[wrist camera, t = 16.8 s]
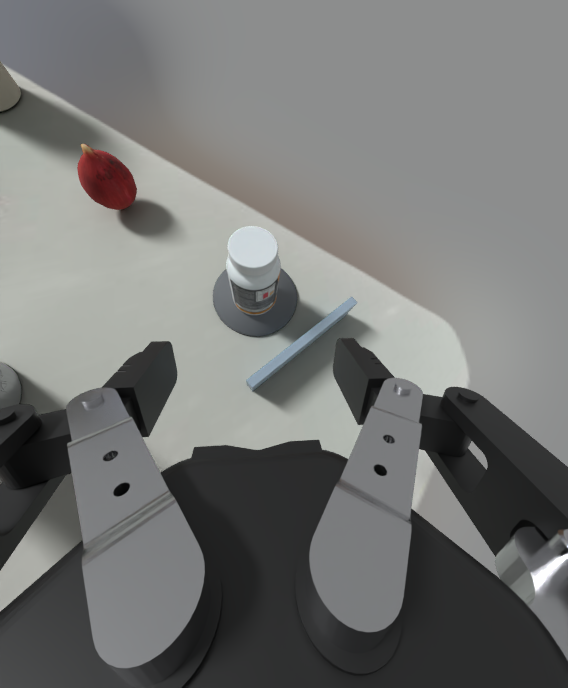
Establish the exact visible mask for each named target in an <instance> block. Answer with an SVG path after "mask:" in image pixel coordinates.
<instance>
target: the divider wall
mask: <svg viewBox="0 0 568 688" xmlns="http://www.w3.org/2000/svg"><path fill="white" fill-rule="evenodd" d="M356 304H357V301H356V300H355V299H354V298H353V297H351V298H349V299H348V300H347V301H345V302H344V303H343V304H342V305H340V306H339V307H338V308H337V309H335V310H334V311H333V312H332V313H330V314H329V315H328V316H327V317H325V318H324V319H323V320H322V321H320V322H319V323H318V324H316V325H315V326H314V327H313V328H311V329H310V330H309V331H308V332H306V333H305V334H304V335H303V336H301V337H300V338H299V339H298V340H296V341H295V342H294V343H292V344H291V345H290V346H289V347H287V348H286V349H285V350H284V351H282V352H281V353H280V354H279V355H277V356H276V357H275V358H274V359H272V360H271V361H270V362H268V363H267V364H266V365H265V366H263V367H262V368H261V369H260V370H258V371H257V372H256V373H255V374H253V375H252V376H251V377H250V378H248V379H247V380H246V382H247V385H248V386H249V388H250V389H251V390H252V391H254V390H255V389H256V388H257V387H259V386H260V385H261V384H262V383H264V382H265V381H266V380H267V379H268V378H270V377H271V376H272V375H273V374H275V373H276V372H277V371H278V370H279V369H281V368H282V367H283V366H284V365H286V364H287V363H288V362H289V361H291V360H292V359H293V358H294V357H295V356H297V355H298V354H299V353H300V352H302V351H303V350H304V349H305V348H306V347H308V346H309V345H310V344H311V343H313V342H314V341H315V340H316V339H318V338H319V337H320V336H321V335H322V334H324V333H325V332H326V331H327V330H329V329H330V328H331V327H332V326H333V325H335V324H336V323H337V322H338V321H340V320H341V319H342V318H343V317H345V316H346V315H347V314H348V312H349V311H350V310H351V309H352V308H353V307H354V306H355V305H356Z"/></svg>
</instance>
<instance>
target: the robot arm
mask: <svg viewBox="0 0 568 688" xmlns="http://www.w3.org/2000/svg"><path fill="white" fill-rule="evenodd" d="M333 373H334V377H335V379H336V381H337V383H338V385H339V387H340V389H341V391H342V393H343V395H344V397H345V399H346V401H347V403H348V405H349V407H350V410H351V412H352V414H353V416H354V418H355V420H356V422H357V424H358V425H363V427H362V429H361V432H360V434H359V436H358V439H357V441H356V443H355V446H354V448H353V450H352V453H351V455H350V457H349V460H348V459H347V458H345V457H343V456H341V455H339V454H336V453H333V452H330V451H326V450H322V448H321V445H320V441H319V440H307V441H290V442H286V443H283V444H279V445H276V446H272V447H269V448H265V449H262V450H252V449H246V448H240V447H234V446H227V445H223V446H206V447H194V450H193V454H192V457H191V458H190V459H186V460H184V461H181V462H179V463H177V464H175V465H173V466H171V467H169V468H167V469H166V470H164V471H162V472H161V473H160V471H159V470H158V468H157V466H156V464H155V462H154V460H153V458H152V456H151V454H150V452H149V450H148V448H147V446H146V444H145V442H144V440H143V438H142V437H149V435H150V433H151V431H152V429H153V427H154V425H155V423H156V421H157V419H158V417H159V415H160V413H161V411H162V409H163V407H164V406H165V404H166V402H167V400H168V398H169V396H170V394H171V392H172V390H173V388H174V386H175V384H176V381H177V368H176V363H175V358H174V353H173V348H172V344H171V343H170V342H169V341H162V342H151V343H150V344H149V345H148V346H147V347H146V348H145V350H144V351H143V352H139V353H137V354H135V355H134V356H132V357H130V358H129V359H128V360H127V361H126V362H125V363H124V364H123V366H121V367H120V368H119V370H118V372H116V373H115V374H114V375H113V376H112V377H111V378H110V379H109V380H108V381H107V382H106V383H105V385H104V386H103V387H102V388H97V389H93V390H89V391H87V392H84V393H82V394H80V395H78V396H76V397H75V398H74V399H72V400H71V401H70V402H69V403H68V405H67V407H66V409H64V410H60V411H55V412H51V413H46V414H42V415H38V414H37V412H36V410H35V408H34V407H33V406H32V405H29V404H19V403H20V399H21V384H20V381H19V378H18V376H17V374H16V373H15V372H14V371H13V369H12V368H10V367H9V366H7V365H6V364H4V363H1V362H0V479H1V480H2V481H3V482H2V484H1V485H0V570H1V569H2V567H3V566H4V564H5V563H6V561H7V560H8V559H9V557H10V556H11V554H12V553H13V551H14V550H15V548H16V547H17V545H18V544H19V543H20V541H21V540H22V538H23V537H24V535H25V534H26V532H27V531H28V529H29V528H30V526H31V525H32V524H33V522H34V521H35V519H36V518H37V516H38V515H39V513H40V512H41V510H42V509H43V508H44V506H45V505H46V503H47V502H48V500H49V499H50V497H51V496H52V494H53V493H54V491H55V490H56V489H57V487H58V486H59V484H60V483H61V481H62V480H63V478H64V477H65V475H67V474H70V473H72V478H73V484H74V490H75V496H76V502H77V508H78V514H79V520H80V527H81V533H82V539H83V540H82V541H81V542H80V543H79V544H77V545H76V546H75V547H74V548H73V549H72V550H71V551H69V552H68V553H67V554H66V555H65V556H64V557H63V558H61V559H60V560H59V561H58V562H57V563H56V564H55V565H53V566H52V567H51V568H50V569H49V570H48V571H47V572H45V573H44V574H43V575H42V576H41V577H40V578H39V579H37V580H36V581H35V582H34V583H33V584H32V585H31V586H29V587H28V588H27V589H26V590H25V591H24V592H23V593H21V594H20V595H19V596H18V597H17V598H16V599H15V600H13V601H12V602H11V603H10V604H9V605H8V606H7V607H5V608H4V609H3V610H2V611H1V612H0V688H568V467H567V466H566V465H565V464H563V463H562V462H561V461H560V460H559V459H557V458H556V457H555V456H554V455H553V454H551V453H550V452H549V451H548V450H547V449H545V448H544V447H543V446H542V445H541V444H539V443H538V442H537V441H536V440H535V439H533V438H532V437H531V436H530V435H529V434H527V433H526V432H525V431H524V430H522V429H521V428H520V427H519V426H518V425H516V424H515V423H514V422H513V421H512V420H511V419H509V418H508V417H507V416H506V415H505V414H503V413H502V412H501V411H500V410H499V409H497V408H496V407H495V406H494V405H492V404H491V403H490V402H489V401H488V400H487V399H485V398H484V397H483V396H481V395H480V394H478V393H476V392H474V391H471V390H469V389H465V388H461V387H449V388H447V389H446V390H445V392H444V395H443V397H438V396H432V395H426V394H423V392H422V390H421V389H420V388H419V387H418V386H417V385H416V384H414V383H412V382H410V381H408V380H405V379H400V378H395V377H394V376H393V375H392V374H391V373H390V372H389V371H388V369H387V368H386V367H385V366H384V365H383V364H382V363H381V362H380V360H379V359H378V358H377V357H376V356H375V355H374V354H373V352H371V351H369V350H367V349H366V348H362V347H361V346H360V345H359V344H358V343H357V341H356V340H355V339H354V338H339V339H338V340H337V343H336V350H335V357H334V364H333ZM471 441H473V442H474V443H475V444H476V446H477V447H478V448H479V449H480V450H481V451H482V452H483V453H484V455H485V457H486V459H487V462H488V468H487V470H486V469H485V468H484V467H483V465H482V464H481V463H480V462H479V461H478V460H477V459H476V457H475V456H474V455H473V454H472V453H471V451H470V450H469V449H468V446H469V445H470V443H471ZM419 449H421V450H425V451H426V453H427V454H428V456H429V457H430V459H431V460H432V462H433V463H434V465H435V466H436V468H437V469H438V471H439V472H440V474H441V475H442V477H443V478H444V480H445V481H446V483H447V484H448V486H449V487H450V489H451V490H452V492H453V493H454V495H455V496H456V498H457V499H458V501H459V502H460V504H461V505H462V507H463V508H464V510H465V511H466V513H467V514H468V516H469V517H470V519H471V520H472V522H473V523H474V525H475V526H476V528H477V530H478V531H479V532H480V534H481V535H482V537H483V538H484V540H485V542H486V543H487V545H488V546H489V548H490V549H491V551H492V552H493V554H494V555H495V557H496V560H495V564H496V569H497V572H498V575H499V577H500V579H499V578H498V577H497V576H496V575H494V574H493V573H491V571H489V570H488V569H487V568H485V567H484V566H483V565H482V564H480V563H479V562H478V561H477V560H475V559H474V558H473V557H472V556H470V555H469V554H468V553H467V552H465V551H464V550H463V549H462V548H460V547H459V546H458V545H457V544H455V543H454V542H453V541H452V540H450V539H449V538H448V537H446V536H445V535H444V534H443V533H442V532H440V531H439V530H438V529H436V528H435V527H434V526H433V525H431V524H430V523H429V522H428V521H426V520H425V519H424V518H423V517H421V516H420V515H419V514H417V513H416V512H415V511H414V510H413V509H411V506H412V498H413V490H414V483H415V475H416V468H417V460H418V452H419Z"/></svg>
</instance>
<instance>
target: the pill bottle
mask: <svg viewBox="0 0 568 688" xmlns="http://www.w3.org/2000/svg"><path fill="white" fill-rule="evenodd" d="M228 255H229V256H228V258H227V262H226V270H227V275H228V279H229V284H230V288H231V293H232V297H233V301H234V303H235V305H236V306H237V308H238V309H239V310H241V311H242V312H244V313H246V314H249V315H261V314H264V313H266V312H268V311H269V310H270V309H271V308H272V307H273V305H274V304H275V301H276V297H277V291H278V283H279V276H280V268H281V265H280V259H279V257H278V244H277V241H276V239H275V237H274V236H273V235H272V234H271V233H270V232H269V231H267V230H265V229H263V228H261V227H256V226H247V227H243V228H240V229H238V230H237V231H235V232H234V233H233V234H232V235H231V237H230V239H229V241H228Z"/></svg>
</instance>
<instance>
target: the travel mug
mask: <svg viewBox="0 0 568 688" xmlns="http://www.w3.org/2000/svg"><path fill="white" fill-rule="evenodd" d="M20 96H21V91H20V88H19V87H18V85H17V84H16V82H15V81H14V80H13V78H12V77H11V75H10V74H9V73H8V71H7V70H6V69H5V67H4V66H3V64H2V63H1V62H0V112H3V111H6V110H8V109H10V108H11V107H13V106H14V105H15V104H16V103H17V102H18V100H19V99H20Z"/></svg>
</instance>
